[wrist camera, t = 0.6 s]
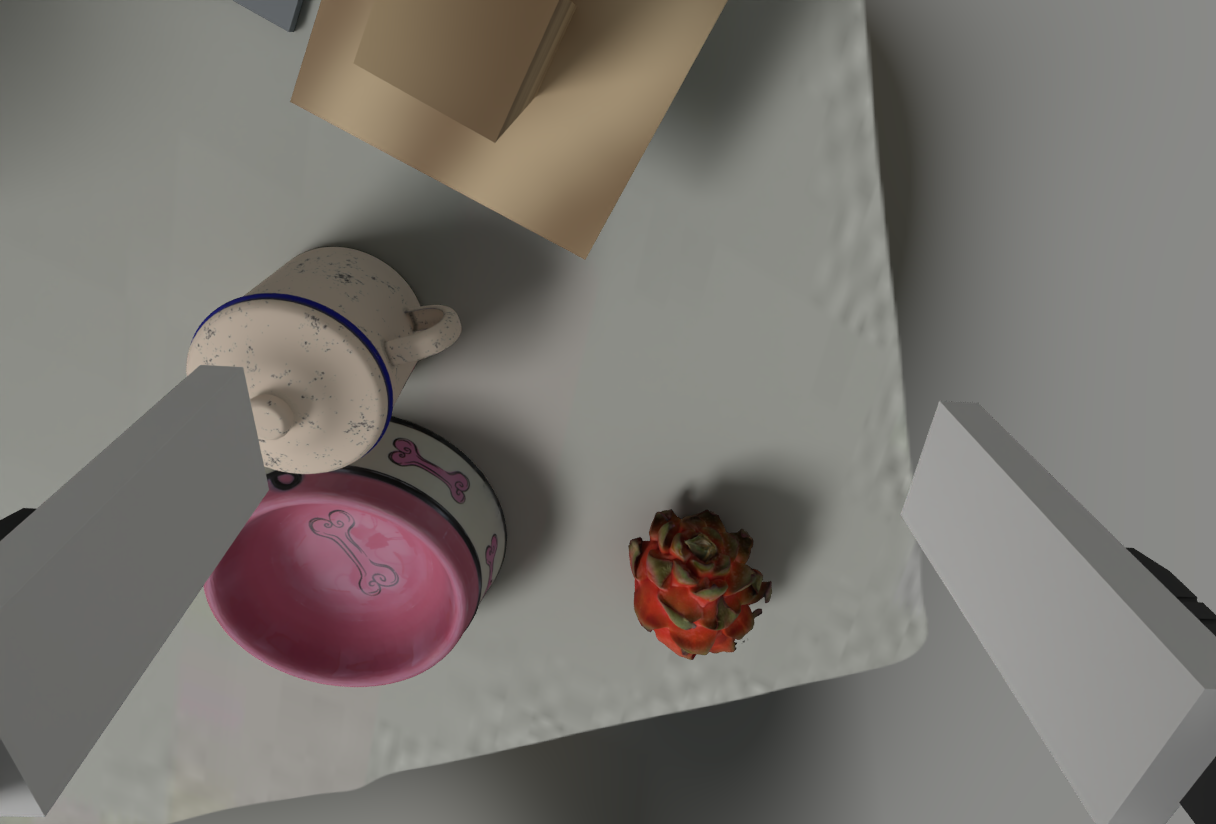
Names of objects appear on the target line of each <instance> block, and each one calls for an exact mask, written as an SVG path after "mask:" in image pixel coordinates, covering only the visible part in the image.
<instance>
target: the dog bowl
mask: <svg viewBox="0 0 1216 824" xmlns="http://www.w3.org/2000/svg"><path fill="white" fill-rule="evenodd" d="M264 468H265V473H266V477H267V482H268V487H269V491H268V492H267V493H266V495H265V496H264V498H263V499H262V501H261V502H260V504H259V505H258V507H257V508H256V510H255V511H254V512H253V514H252V515H251V517H250V518H249V520H248V521H247V523H246V524H245V526H244V527H243V528H242V530H241V531H240V533H239V534H238V536H237V537H236V539H235V540H234V542H233V543H232V545H231V546H230V547H229V549H228V550H227V552H226V553H225V555H224V556H223V558H222V559H221V561H220V562H219V564H218V565H217V566H216V568H215V569H214V571H213V572H212V574H211V575H210V577H209V578H208V580H207V581H206V583H205V584H204V591H205V594H206V598H207V601H208V604H209V606H210V608H211V610H212V612H213V614H214V616H215V618H216V619H217V621H218V622H219V624H220V625H221V626H222V628H223V629H224V630H225V632H226V633H227V634H228V635H229V636H230V637H231V638H232V639H233V640H234V641H235V642H236V643H237V644H239V645H240V646H241V647H242V648H243V649H245V650H246V651H247V652H249V653H250V654H251V655H253V656H254V657H256V658H257V659H259V660H261V661H263V662H264V663H266V664H268V665H270V666H271V667H274V668H276V669H278V670H280V671H282V672H285V673H287V674H289V675H292V676H295V677H298V678H301V679H304V680H308V681H312V682H317V683H321V684H327V685H334V686H345V687H369V686H379V685H386V684H391V683H395V682H399V681H402V680H406V679H409V678H411V677H414V676H416V675H418V674H421V673H423V672H424V671H426V670H428V669H430V668H431V667H433V666H434V665H435V664H437V663H438V662H439V661H440V660H442V659H443V658H444V657H445V656H446V655H447V654H448V653H449V652H450V651H451V650H452V649H453V648H454V646H455V645H456V644H457V642H458V641H459V639H460V638H461V636H462V634H463V633H464V632H465V630H466V629H467V628H468V626H469V625H470V623H471V621H472V620H473V618H474V616H475V614H476V611H477V609H478V605H479V604H480V602H481V600H482V598H483V597H484V595H485V593H486V592H487V590H488V589H489V588H490V586H491V585H492V583H493V581H494V580H495V578H496V577H497V575H498V572H499V570H500V568H501V565H502V563H503V560H504V557H505V551H506V541H507V532H506V524H505V519H504V515H503V511H502V508H501V506H500V503H499V501H498V499H497V497H496V495H495V493H494V491H493V489H492V488H491V486H490V484H489V483H488V481H487V480H486V478H485V476H484V475H483V474H482V472H481V471H480V470H479V469H478V468H477V467H476V466H475V465H474V464H473V462H472V461H471V460H470V459H469V458H468V457H467V456H465V455H464V454H463V453H462V452H461V451H460V450H459V449H458V448H456V447H455V446H454V445H452V444H451V443H449V442H448V441H446V440H445V439H444V438H442V437H441V436H439V435H437V434H435V433H433V432H432V431H430V430H427V429H425V428H423V427H421V426H418V425H416V424H414V423H411V422H408V421H405V420H402V419H399V418H395V417H392V416H391V419H390V422H389V425H388V427H387V430H386V432H385V434H384V435H383V437H382V438H381V440H380V441H379V442H378V444H377V445H376V446H375V447H374V448H373V449H372V450H371V451H370V452H369V453H367V454H366V455H365V456H363V457H362V458H360V459H359V460H357V461H355V462H353V463H352V464H350V465H347V466H345V467H343V468H340V469H337V470H333V471H329V472H324V473H316V474H296V473H288V472H282V471H278V470H274V469H271V468H267V467H265V466H264Z"/></svg>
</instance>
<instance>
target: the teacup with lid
mask: <svg viewBox="0 0 1216 824" xmlns="http://www.w3.org/2000/svg"><path fill="white" fill-rule="evenodd" d="M461 329H462V328H461V323H460V320H459V317H458V315H457V313H456V312H455V311H454V310H453V309H452V308H450V307H448V306H444V305H427V306H421V307H420V304H419V302H418V300H417V298H416V296H415V294H414V292H413V291H412V289H411V288H410V286H409V285H408V284H407V282H406V281H405V280H404V279H403V278H402V277H401V276H400V275H399V274H398V273H397V272H396V271H395V270H394V269H393V268H391V267H390V266H389V265H387V264H386V263H384V262H383V261H381V260H379V259H378V258H376V257H374V256H371V255H369V254H367V253H364V252H361V251H358V250H355V249H350V248H344V247H323V248H317V249H313V250H310V251H307V252H304V253H302V254H300V255H298V256H296V257H294V258H293V259H291V260H290V261H289V262H288V263H286V264H285V265H284V266H282V267H281V268H280V269H278V270H277V271H276V272H274V273H273V274H272V275H270V276H269V277H268V278H267V279H265V280H264V281H263V282H261V283H260V284H259V285H257V286H256V287H255V288H253V289H252V290H251V291H250V292H248V293H247V294H246V295H244V296H243V297H240V298H237V299H234V300H232V301H229V302H227V303H225V304H224V305H222V306H220V307H219V308H217V309H216V310H215V311H213V312H212V313H211V314H210V315H209V316H208V317H207V318H206V319H205V320H204V321H203V322H202V323H201V325H200V326H199V328H198V329H197V331H196V333H195V335H194V337H193V339H192V342H191V345H190V349H189V352H188V357H187V370H186V372H187V376H188V375H189V374H190V373H192V372H193V371H194V370H195V369H196V368H197V367H198V366H200V365H212V366H232V367H243V369H244V373H245V378H246V383H247V388H248V392H249V397H250V402H251V407H252V411H253V416H254V421H255V425H256V430H257V435H258V440H259V444H260V449H261V454H262V459H263V463H264V466H265V467H267V468H271V469H274V470H278V471H282V472H288V473H296V474H316V473H324V472H329V471H333V470H337V469H340V468H343V467H345V466H347V465H350V464H352V463H353V462H355V461H357V460H359V459H360V458H362V457H363V456H365V455H366V454H367V453H369V452H370V451H371V450H372V449H373V448H374V447H375V446H376V445H377V444H378V442H379V441H380V440H381V438H382V437H383V435H384V434H385V432H386V430H387V427H388V425H389V422H390V419H391V415H392V410H393V406H394V404H395V402H396V400H397V398H398V397H399V395H400V393H401V391H402V389H403V387H404V385H405V384H406V382H407V380H408V378H409V376H410V374H411V372H412V371H413V369H414V367H415V365H416V363H417V361H418V360H421V359H424V358H427V357H430V356H433V355H435V354H437V353H439V352H441V351H443V350H445V349H447V348H448V347H450V346H451V345H452V344H453V343H454V342H455V341H456V340H457V339H458V338H459V336H460V334H461Z"/></svg>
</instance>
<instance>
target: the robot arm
mask: <svg viewBox="0 0 1216 824" xmlns="http://www.w3.org/2000/svg"><path fill="white" fill-rule="evenodd" d="M268 491H269V487H268V482H267V477H266V473H265V468H264V463H263V459H262V454H261V449H260V444H259V440H258V435H257V430H256V425H255V421H254V416H253V411H252V407H251V402H250V397H249V392H248V388H247V383H246V378H245V373H244V369H243V367H232V366H212V365H200V366H198V367H197V368H196V369H195V370H194V371H193V372H192V373H190V374H189V375H188V376H187V377H186V378H185V379H184V380H183V381H181V382H180V383H179V384H178V385H177V386H176V387H175V388H173V389H172V390H171V391H170V392H169V393H168V394H167V395H166V396H164V397H163V398H162V399H161V400H160V401H159V402H158V403H156V404H155V405H154V406H153V407H152V408H151V409H150V410H149V411H147V412H146V413H145V414H144V415H143V416H142V417H141V418H139V419H138V420H137V421H136V422H135V423H134V424H133V425H131V426H130V427H129V428H128V429H127V430H126V431H125V432H124V433H122V434H121V435H120V436H119V437H118V438H117V439H116V440H114V441H113V442H112V443H111V444H110V445H109V446H108V447H107V448H105V449H104V450H103V451H102V452H101V453H100V454H99V455H97V456H96V457H95V458H94V459H93V460H92V461H91V462H90V463H88V464H87V465H86V466H85V467H84V468H83V469H82V470H80V471H79V472H78V473H77V474H76V475H75V476H74V477H73V478H71V479H70V480H69V481H68V482H67V483H66V484H65V485H63V486H62V487H61V488H60V489H59V490H58V491H57V492H56V493H54V494H53V495H52V496H51V497H50V498H49V499H48V500H46V501H45V502H44V503H43V504H42V505H41V506H40V507H38V508H37V509H31V508H23V509H21V510H19V511H17V512H15V513H13V514H11V515H9V516H7V517H6V518H4V519H2V520H0V816H18V817H45V816H46V815H47V813H48V812H49V810H50V809H51V807H52V806H53V804H54V803H55V802H56V800H57V799H58V797H59V796H60V794H61V793H62V791H63V790H64V788H65V787H66V785H67V784H68V783H69V781H70V780H71V778H72V777H73V775H74V774H75V772H76V771H77V769H78V768H79V767H80V765H81V764H82V762H83V761H84V759H85V758H86V756H87V755H88V753H89V752H90V750H91V749H92V748H93V746H94V745H95V743H96V742H97V740H98V739H99V737H100V736H101V734H102V733H103V731H104V730H105V729H106V727H107V726H108V724H109V723H110V721H111V720H112V718H113V717H114V715H115V714H116V712H117V711H118V710H119V708H120V707H121V705H122V704H123V702H124V701H125V699H126V698H127V696H128V695H129V694H130V692H131V691H132V689H133V688H134V686H135V685H136V683H137V682H138V680H139V679H140V677H141V676H142V675H143V673H144V672H145V670H146V669H147V667H148V666H149V664H150V663H151V661H152V660H153V658H154V657H155V656H156V654H157V653H158V651H159V650H160V648H161V647H162V645H163V644H164V642H165V641H166V639H167V638H168V637H169V635H170V634H171V632H172V631H173V629H174V628H175V626H176V625H177V623H178V622H179V620H180V619H181V618H182V616H183V615H184V613H185V612H186V610H187V609H188V607H189V606H190V604H191V603H192V602H193V600H194V599H195V597H196V596H197V594H198V593H199V591H200V590H201V588H202V587H203V585H204V584H205V583H206V581H207V580H208V578H209V577H210V575H211V574H212V572H213V571H214V569H215V568H216V566H217V565H218V564H219V562H220V561H221V559H222V558H223V556H224V555H225V553H226V552H227V550H228V549H229V547H230V546H231V545H232V543H233V542H234V540H235V539H236V537H237V536H238V534H239V533H240V531H241V530H242V528H243V527H244V526H245V524H246V523H247V521H248V520H249V518H250V517H251V515H252V514H253V512H254V511H255V510H256V508H257V507H258V505H259V504H260V502H261V501H262V499H263V498H264V496H265V495H266V493H267V492H268ZM901 516H902V518H903V519H904V521H905V523H906V524H907V526H908V527H909V529H910V530H911V532H912V534H913V535H914V537H915V538H916V540H917V542H918V543H919V545H920V546H921V548H922V550H923V551H924V553H925V554H926V556H927V557H928V559H929V561H930V562H931V564H932V565H933V567H934V568H935V570H936V572H937V573H938V575H939V576H940V578H941V580H942V581H943V583H944V584H945V586H946V587H947V589H948V591H949V592H950V594H951V596H952V597H953V599H954V600H955V602H956V603H957V605H958V606H959V608H960V610H961V611H962V613H963V615H964V616H965V618H966V619H967V621H968V623H969V624H970V626H971V627H972V629H973V630H974V632H975V634H976V635H977V637H978V638H979V640H980V642H981V643H982V645H983V646H984V648H985V650H986V651H987V653H988V654H989V656H990V657H991V659H992V661H993V662H994V664H995V665H996V667H997V669H998V670H999V671H1000V673H1001V675H1002V676H1003V678H1004V680H1005V681H1006V683H1007V684H1008V686H1009V687H1010V689H1011V691H1012V692H1013V694H1014V695H1015V697H1016V699H1017V700H1018V701H1019V703H1020V705H1021V707H1022V708H1023V710H1024V711H1025V713H1026V714H1027V716H1028V718H1029V719H1030V721H1031V722H1032V724H1033V726H1034V727H1035V729H1036V730H1037V732H1038V733H1039V735H1040V737H1041V738H1042V740H1043V742H1044V743H1045V745H1046V746H1047V748H1048V749H1049V751H1050V753H1051V754H1052V756H1053V757H1054V759H1055V761H1056V762H1057V764H1058V765H1059V767H1060V768H1061V770H1062V772H1063V773H1064V775H1065V776H1066V778H1067V780H1068V781H1069V783H1070V784H1071V786H1072V787H1073V789H1074V791H1075V792H1076V794H1077V795H1078V797H1079V799H1080V800H1081V802H1082V803H1083V805H1084V807H1085V808H1086V810H1087V811H1088V813H1089V815H1090V816H1091V818H1092V819H1093V821H1094V822H1095V824H1166V823H1167V822H1168V820H1169V819H1170V818H1171V816H1172V815H1173V814H1174V813H1175V812H1176V810H1177V809H1178V808H1179V806H1180V805H1182V807H1183V808H1184V809H1185V811H1186V812H1187V813H1188V815H1189V816H1190V817H1191V819H1192V820H1193V821H1194V823H1195V824H1216V615H1215V614H1214V613H1213V612H1212V611H1211V610H1210V609H1209V608H1208V607H1206V605H1205V604H1204V603H1199V602H1197V597H1196V596H1195V595H1194V594H1193V593H1192V592H1191V591H1190V590H1189V589H1188V588H1187V587H1186V586H1185V585H1184V584H1183V583H1182V582H1180V581H1179V580H1178V579H1177V578H1176V577H1175V576H1174V575H1173V574H1172V573H1171V572H1170V571H1168V570H1167V569H1165V568H1164V567H1162V566H1161V565H1159V564H1158V563H1156V562H1154V561H1153V560H1151V559H1150V558H1148V557H1146V556H1145V555H1143V554H1142V553H1140V552H1139V551H1137V550H1135V549H1134V548H1125V547H1124V546H1123V545H1122V544H1121V543H1120V542H1119V541H1118V540H1117V539H1116V538H1115V537H1114V536H1113V535H1112V534H1111V533H1110V532H1109V531H1108V530H1107V529H1106V528H1105V527H1104V526H1103V525H1102V524H1101V523H1100V522H1099V521H1098V520H1097V519H1096V518H1095V517H1094V516H1092V514H1091V513H1089V512H1088V511H1087V510H1086V509H1085V508H1084V507H1083V506H1082V505H1081V504H1080V503H1079V502H1078V501H1077V500H1076V499H1075V498H1074V497H1073V496H1072V495H1071V494H1070V493H1069V492H1068V491H1067V490H1066V489H1065V488H1064V487H1063V486H1062V485H1061V484H1060V483H1059V482H1058V481H1057V480H1056V479H1055V478H1054V477H1053V476H1052V475H1051V474H1050V473H1048V471H1047V470H1046V469H1045V468H1044V467H1043V466H1042V465H1041V464H1040V463H1039V462H1037V460H1036V459H1034V457H1033V456H1031V455H1030V454H1029V453H1028V452H1027V451H1026V450H1025V449H1024V448H1023V447H1022V446H1021V445H1020V444H1019V443H1018V442H1017V441H1016V440H1015V439H1014V438H1013V437H1012V436H1011V435H1010V434H1009V433H1008V432H1007V431H1006V430H1005V429H1004V428H1003V427H1002V426H1001V425H1000V424H999V423H998V422H997V421H996V420H995V419H994V418H993V417H992V416H991V415H990V414H989V413H988V412H987V411H986V410H985V409H984V408H983V407H982V406H981V405H979V403H971V402H970V403H969V402H947V401H939V404H938V407H937V410H936V413H935V416H934V419H933V421H932V424H931V427H930V430H929V433H928V436H927V439H926V442H925V445H924V448H923V451H922V454H921V457H920V460H919V462H918V466H917V469H916V471H915V474H914V477H913V480H912V483H911V486H910V489H909V492H908V495H907V498H906V500H905V503H904V506H903V509H902V512H901Z"/></svg>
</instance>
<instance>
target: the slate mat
mask: <svg viewBox="0 0 1216 824" xmlns="http://www.w3.org/2000/svg"><path fill="white" fill-rule="evenodd" d="M233 1H235V2H236V3H238V4H240V5H242V6H244V7H245V8H247V9H249V10H251V11H252V12H254V13H256V14H258V15H260V16H261V17H263V18H265V19H267V20H268V21H270V22H272V23H274V24H276V25H277V26H279V27H281V28H283V29H285V30H286V31H288V32H294V30H295V26H296V23H297V19H298V16H299V13H300V9H301V6H302V2H303V0H233Z"/></svg>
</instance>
